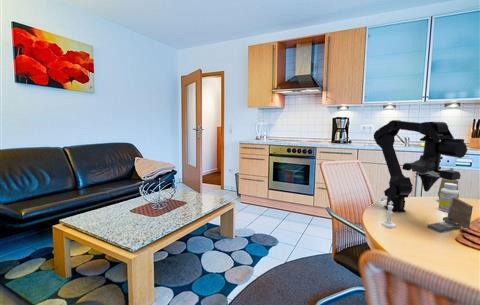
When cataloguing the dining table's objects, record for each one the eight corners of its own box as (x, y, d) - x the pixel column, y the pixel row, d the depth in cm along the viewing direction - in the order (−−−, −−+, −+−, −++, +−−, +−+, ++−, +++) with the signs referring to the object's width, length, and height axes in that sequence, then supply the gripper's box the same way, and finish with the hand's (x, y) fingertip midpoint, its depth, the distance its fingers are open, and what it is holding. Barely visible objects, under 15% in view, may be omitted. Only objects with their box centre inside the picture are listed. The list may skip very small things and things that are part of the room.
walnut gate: (463, 228, 94) (467, 205, 92) (446, 216, 105) (449, 195, 104) (470, 229, 93) (474, 205, 92) (452, 217, 105) (455, 196, 103)
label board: (419, 224, 100) (420, 221, 100) (447, 219, 107) (448, 216, 106) (440, 232, 93) (440, 229, 93) (469, 226, 100) (469, 223, 99)
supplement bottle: (449, 208, 120) (453, 182, 118) (460, 213, 114) (464, 186, 112) (434, 207, 121) (438, 181, 119) (444, 212, 114) (448, 185, 112)
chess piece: (378, 222, 101) (381, 199, 99) (390, 222, 101) (392, 199, 100) (386, 228, 96) (389, 203, 94) (398, 228, 96) (401, 203, 95)
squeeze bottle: (438, 198, 135) (442, 165, 132) (457, 202, 129) (463, 168, 127) (435, 201, 129) (440, 167, 127) (455, 206, 124) (461, 170, 121)
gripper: (395, 150, 105) (391, 186, 108) (445, 158, 88) (438, 200, 90) (413, 149, 109) (408, 184, 112) (464, 157, 92) (457, 197, 94)
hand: (426, 191), depth 102 cm, fingers closed
